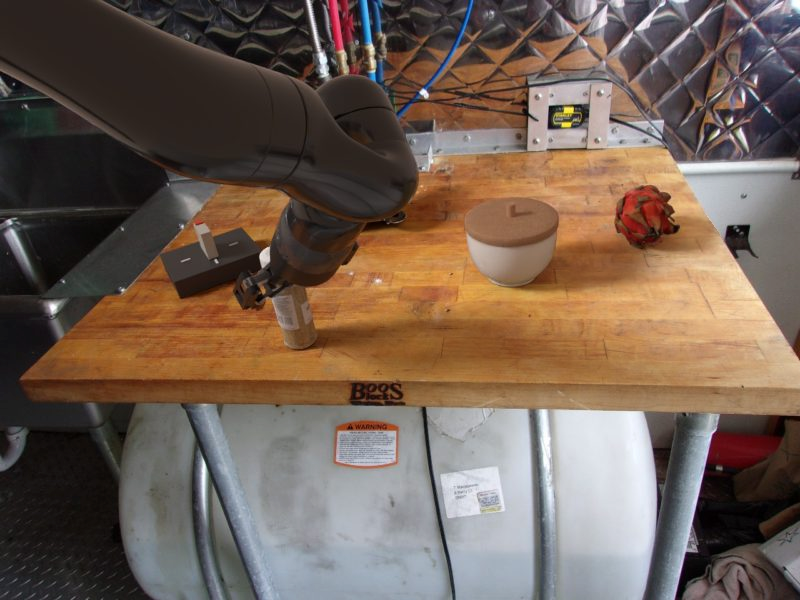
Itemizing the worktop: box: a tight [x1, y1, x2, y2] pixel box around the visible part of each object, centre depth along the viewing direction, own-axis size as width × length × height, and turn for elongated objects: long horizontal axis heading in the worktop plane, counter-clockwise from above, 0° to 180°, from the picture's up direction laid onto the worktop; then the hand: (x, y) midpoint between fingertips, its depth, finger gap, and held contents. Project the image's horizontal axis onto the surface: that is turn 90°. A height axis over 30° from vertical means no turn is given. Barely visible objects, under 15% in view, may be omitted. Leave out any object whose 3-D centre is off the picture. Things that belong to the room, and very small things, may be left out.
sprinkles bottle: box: [259, 245, 318, 350], centre depth 73 cm, size 5×5×14 cm
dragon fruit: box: [613, 184, 681, 250], centre depth 87 cm, size 8×8×12 cm
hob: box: [159, 226, 263, 299], centre depth 94 cm, size 14×11×3 cm
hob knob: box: [192, 219, 219, 260], centre depth 92 cm, size 5×2×5 cm, turn 30°
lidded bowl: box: [464, 196, 560, 288], centre depth 81 cm, size 13×13×11 cm
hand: (286, 289), depth 73 cm, fingers open, 8 cm apart
